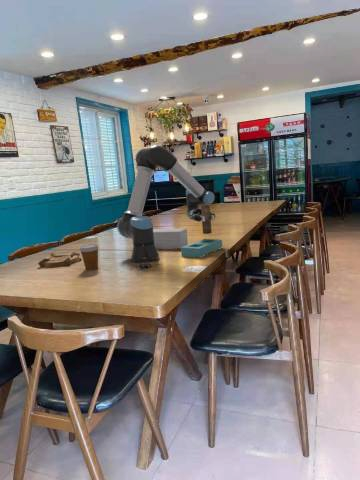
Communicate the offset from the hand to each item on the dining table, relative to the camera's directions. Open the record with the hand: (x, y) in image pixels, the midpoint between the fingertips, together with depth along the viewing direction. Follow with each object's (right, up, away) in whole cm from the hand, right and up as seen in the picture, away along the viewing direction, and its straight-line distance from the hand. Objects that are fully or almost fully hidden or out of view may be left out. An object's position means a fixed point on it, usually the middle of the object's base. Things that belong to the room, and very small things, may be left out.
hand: (209, 218), depth 193 cm
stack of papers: (-28, -17, +29) cm, 44 cm away
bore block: (-3, -19, +4) cm, 19 cm away
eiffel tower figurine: (-33, -26, -18) cm, 46 cm away
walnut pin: (0, -8, +7) cm, 10 cm away
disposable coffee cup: (-62, -27, -12) cm, 69 cm away
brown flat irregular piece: (-86, -26, +8) cm, 90 cm away
